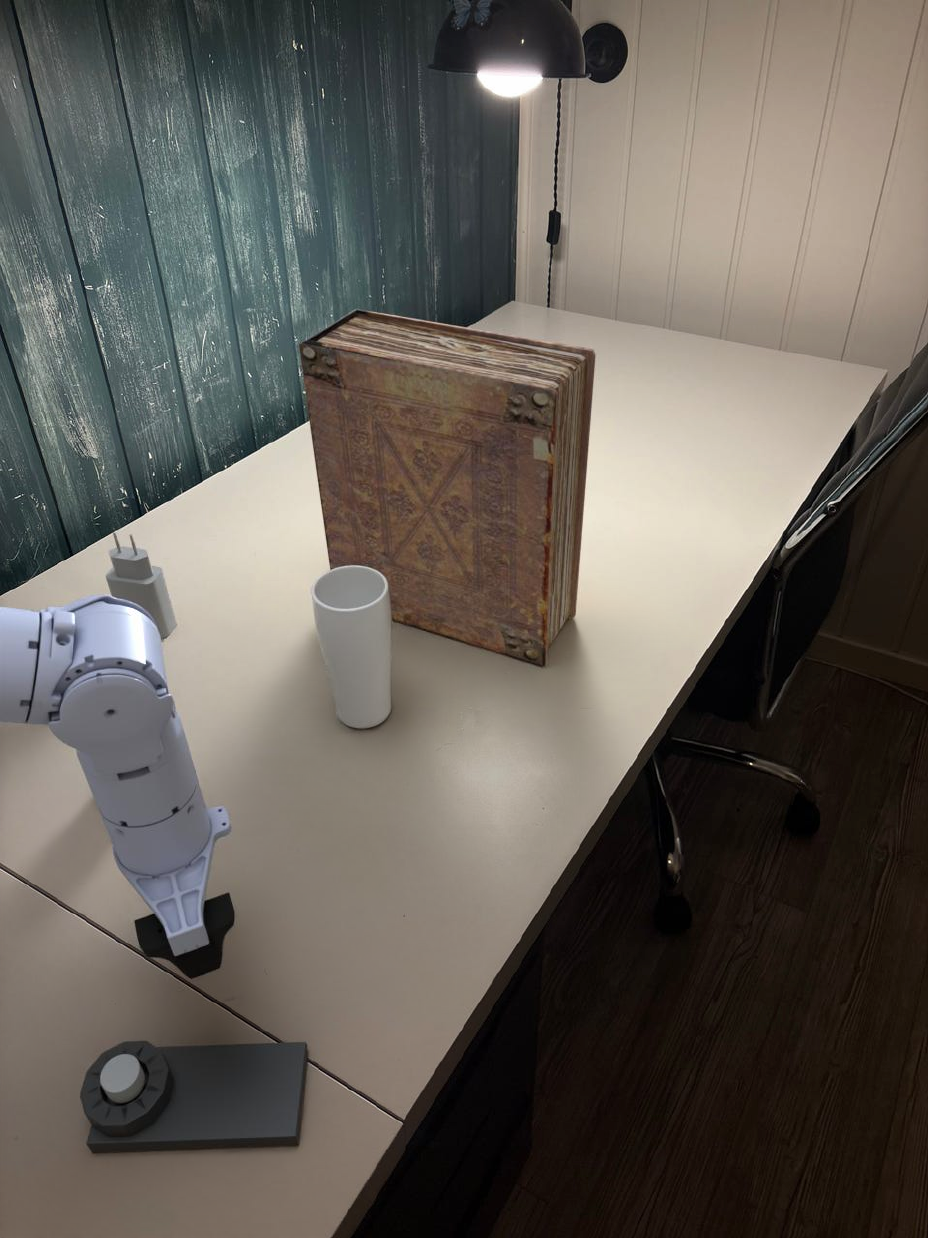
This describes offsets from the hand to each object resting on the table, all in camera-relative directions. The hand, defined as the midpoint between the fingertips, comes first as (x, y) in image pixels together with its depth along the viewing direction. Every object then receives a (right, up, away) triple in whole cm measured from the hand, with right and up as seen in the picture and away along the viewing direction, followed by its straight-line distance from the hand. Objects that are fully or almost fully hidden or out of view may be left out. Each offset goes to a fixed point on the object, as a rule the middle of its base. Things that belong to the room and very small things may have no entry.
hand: (193, 922), depth 62 cm
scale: (+1, -11, -2) cm, 11 cm away
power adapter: (-16, +20, +37) cm, 44 cm away
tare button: (-3, -9, -4) cm, 10 cm away
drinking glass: (+9, +12, +26) cm, 30 cm away
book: (+17, +21, +38) cm, 47 cm away
